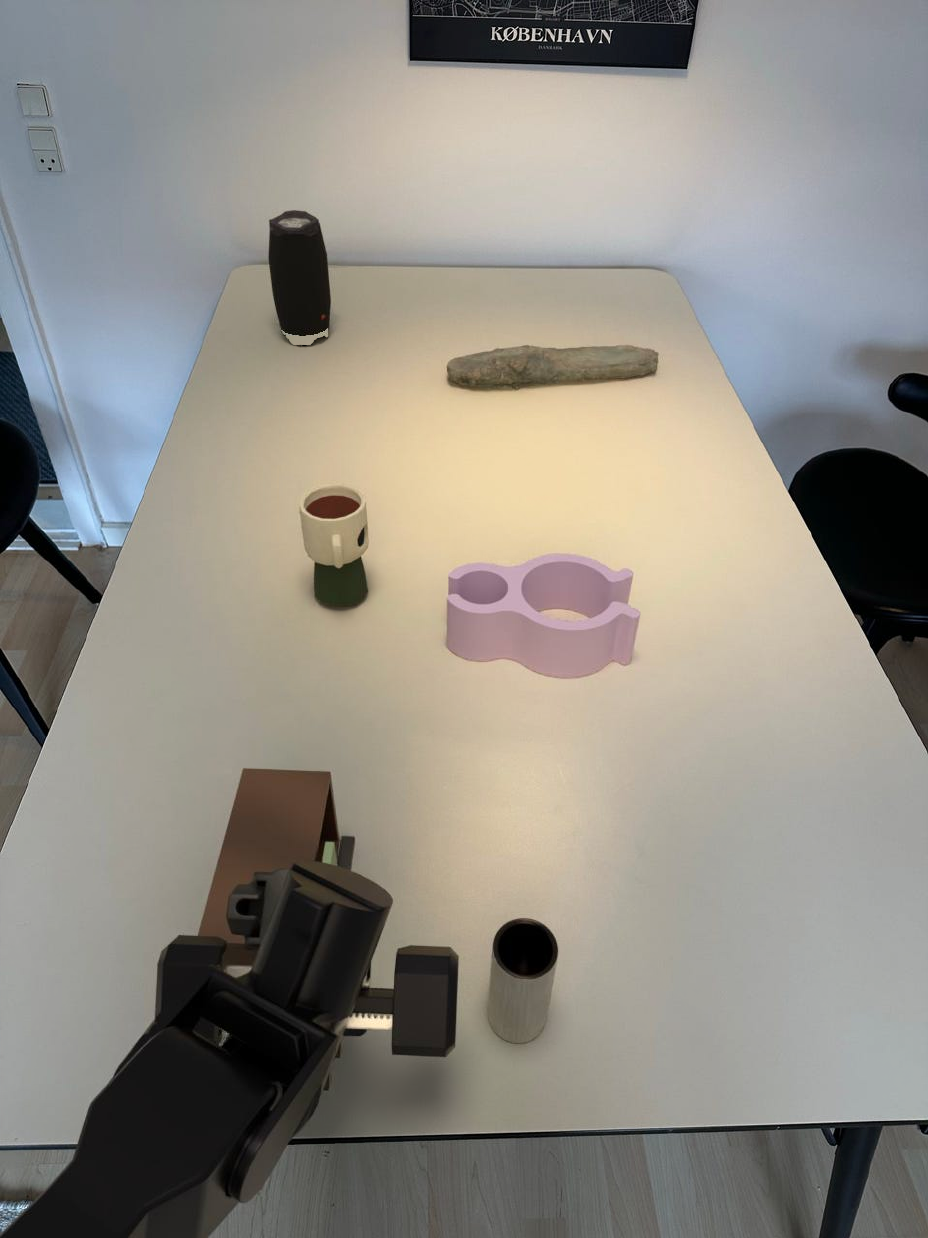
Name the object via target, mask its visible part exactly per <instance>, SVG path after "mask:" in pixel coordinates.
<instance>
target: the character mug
mask: <svg viewBox="0 0 928 1238" xmlns="http://www.w3.org/2000/svg"><path fill="white" fill-rule="evenodd" d="M298 506H299V507H298V509H299V516H300V524H301V531H302V532H301V533H302V539H303V547H304V550H305V552H306V555H307V557H308V558H309V559H311V560H312V561H313V562H314V566H313V593H314V597H315V598H316V600H318V602H320V603H322V604H325V605H328V606H333V607H335V606H336V607H348V606H355V605H357V604H359V603H360V602H362V601H363V600H365V598H366V597H367V595H368V593H369V588H368V580H367V575H366V570H365V566H364V561H363V558H362V556H363V555H364V554H365V553H366V552H367V550H368V548H369V542H370V541H369V540H370V539H369V522H368V510H367V499H366V496H365V495H364V494H363V492H362V491H361V490H360V489H358V488H356V487H355V486H351V485H348V484H344V483H326V484H322V485H321V484H320V485H316V486H315V487H313V488H311V489H309V490H307V491H306V492H305V493H304V494H302V495H301V497H300V501H299V503H298Z"/></svg>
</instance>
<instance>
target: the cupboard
mask: <svg viewBox="0 0 928 1238" xmlns="http://www.w3.org/2000/svg"><path fill="white" fill-rule="evenodd" d="M337 817H338V816H337V810H336V803H335V795H334V787H333V780H332V773H331V771H328V770H327V771H324V770H303V769H302V770H299V769H298V770H297V769H274V768H273V769H272V768H252V767H251V768H247V767H243V768H242V771H241V775H240V779H239V782H238V786H237V790H236V793H235V797H234V800H233V804H232V807H231V812H230V815H229V819H228V822H227V826H226V830H225V833H224V837H223V840H222V844H221V848H220V852H219V855H218V859H217V863H216V866H215V869H214V874H213V878H212V881H211V885H210V889H209V891H208V892H209V893H208V895H207V899H206V904H205V907H204V911H203V915H202V918H201V921H200V925H199V929H198V932H197V936H214V937H220V938H222V939H224V940H226V941H227V948H226V951H225V952H224V954H223V955H222V971H223V969H224V967H225V966H226V965H228V964H231V965H252V961H253V960H254V958H255V957H256V955H257V950H245V938H244V936H243V935H234V934H232V933H231V932H230V929H229V925H228V922H227V918H226V913H227V906H228V898H229V895H230V894H231V892H232V891H233V890H234V888H235V887H236V886H237V885H238V884H249V883H251V882H252V880H253V875H254V872H255V871H259V872H274V871H275V870H277V869H281V868H288V869H290V867H291V866H292V865H293V862H295V861H301V860H309V861H318V862H322V858H323V853H324V847H325V842H334V844H335V851H336V858H337V866H339V867H342V868H344V869H347V870H350V871H352V862H353V857H354V850H355V843H356V836H355V835H354V836H352V835H341V836H340V833H339V825H338V819H337ZM337 855H338V856H337Z"/></svg>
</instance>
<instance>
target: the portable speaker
mask: <svg viewBox="0 0 928 1238" xmlns="http://www.w3.org/2000/svg"><path fill="white" fill-rule="evenodd" d="M268 226H269V227H268V228H269V233H268V234H269V236H268V256H267V257H268V258H267V259H268V264H269V265H268V267H269V274H270V275H269V276H270V282H271V291H272V297H273V302H274V303H273V304H274V309H275V313H276V316H277V320H278V324H279V328H280V331H281V330H283V331H284V332H285V333H288V334H292V335H299V336H306V335H314V334H318V333H320V332H323V331H325V330H326V329H327V328H328V327H329V328H330V321H331V308H332V307H331V306H332V298H331V297H332V296H331V287H330V274H329V260H328V252H327V249H326V244H325V240H324V235H323V232H322V227H321V223H320V220H319V219H318V218H317V217H316V216H314V215H312V214H311V213H309V212H307V211H306V210H298V209H293V210H286V211H285V210H284V211H283V212H282V213H281V214H279V215H277V216H275V217H273V218H270V219H268Z"/></svg>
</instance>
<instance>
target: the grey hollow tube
mask: <svg viewBox="0 0 928 1238" xmlns="http://www.w3.org/2000/svg"><path fill="white" fill-rule="evenodd" d="M558 958H559V945H558V940H557V938H556V936H555V934H554V933H553V932H552V930H551V929H550V928H549V927H548V926H546V925H545V924H544V923H542V922H541V921H539V920H537V919H533V918H528V917H520V918H514V919H511V920H509V921H507V922H505V923H504V924H503V925H501V927H500V928H498V929H497V931H496V932H495V935H494V937H493V941H492V946H491V960H490V972H489V986H488V999H487V1019H488V1022H489V1025H490V1027H491V1029H492V1031H493V1032H494V1034H496V1035H497V1036H498V1037H499V1038H501V1039H503V1040H504V1041H506V1042H509V1043H512V1044H525V1043H528V1042H531V1041H533V1040H534V1039H536V1038H537V1037H538V1036H539V1035H540V1034H541V1033H542V1031H543V1030H544V1028H545V1025H546V1022H547V1019H548V1013H549V1007H550V1002H551V997H552V991H553V986H554V981H555V975H556V970H557V969H556V968H557V963H558Z"/></svg>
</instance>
